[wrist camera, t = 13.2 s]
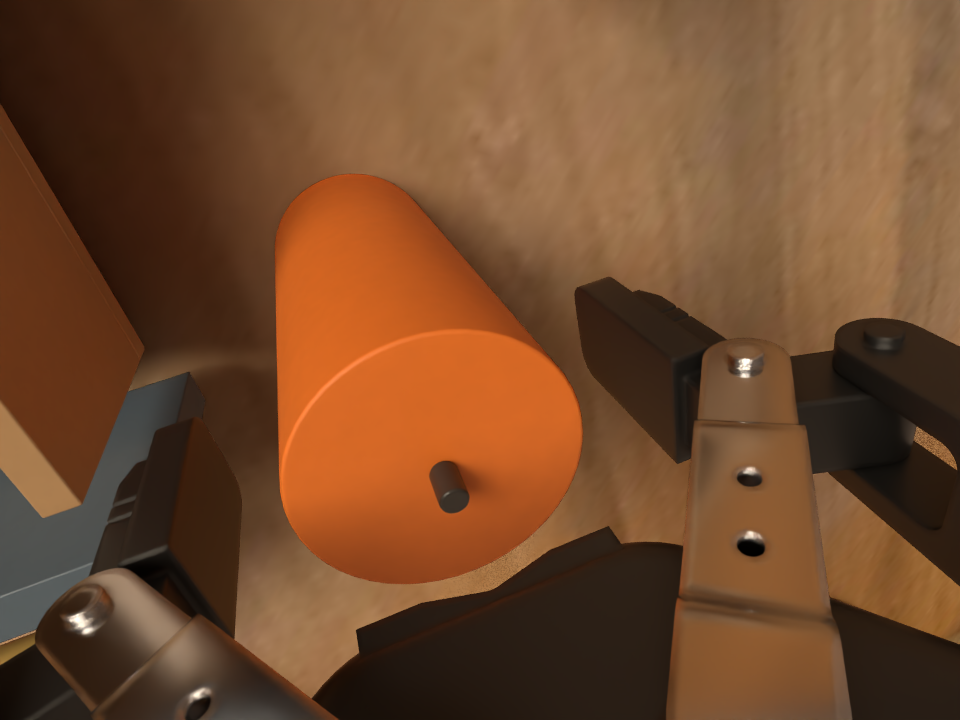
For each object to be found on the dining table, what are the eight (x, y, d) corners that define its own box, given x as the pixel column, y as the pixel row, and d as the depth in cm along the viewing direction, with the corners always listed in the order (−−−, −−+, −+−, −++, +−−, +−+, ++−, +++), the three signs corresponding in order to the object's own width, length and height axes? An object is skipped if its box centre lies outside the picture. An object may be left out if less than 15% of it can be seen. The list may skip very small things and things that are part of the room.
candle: (308, 343, 21) (348, 664, 10) (248, 200, 18) (217, 432, 8) (447, 297, 22) (619, 551, 11) (409, 153, 19) (587, 305, 8)
